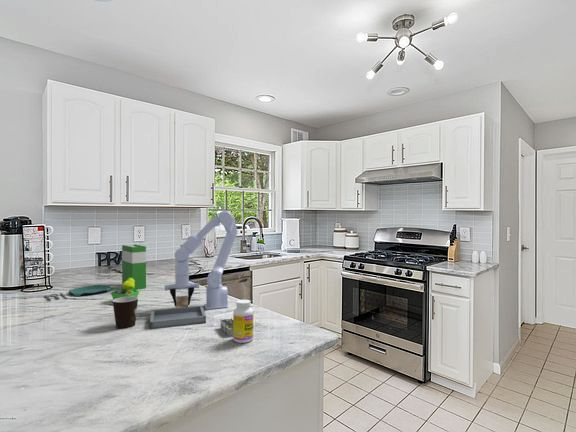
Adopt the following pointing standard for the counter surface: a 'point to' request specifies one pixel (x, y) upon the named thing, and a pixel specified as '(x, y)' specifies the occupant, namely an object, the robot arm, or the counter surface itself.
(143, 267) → the green cereal box
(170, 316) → the tray
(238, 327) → the supplement bottle
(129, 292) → the fruit basket
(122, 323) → the coffee mug
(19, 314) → the counter surface
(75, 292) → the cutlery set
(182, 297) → the wooden cube
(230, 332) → the grey lumpy block
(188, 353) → the counter surface
